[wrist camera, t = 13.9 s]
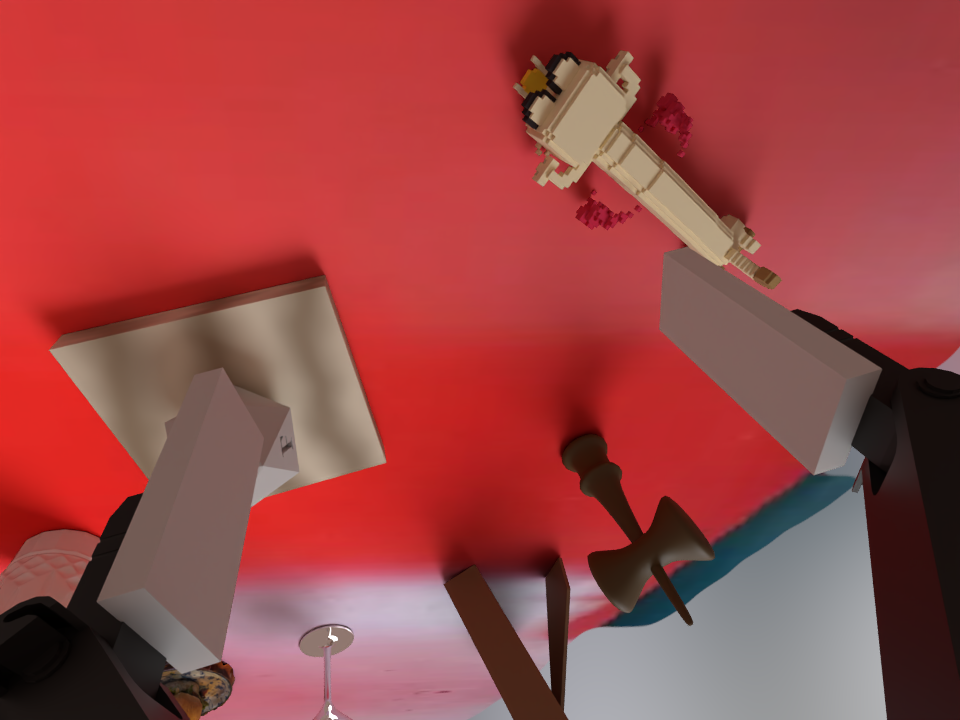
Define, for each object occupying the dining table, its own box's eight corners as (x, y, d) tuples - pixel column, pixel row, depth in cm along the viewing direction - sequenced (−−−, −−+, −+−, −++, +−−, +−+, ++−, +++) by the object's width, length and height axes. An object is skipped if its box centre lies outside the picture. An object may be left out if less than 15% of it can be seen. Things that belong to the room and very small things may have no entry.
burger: (95, 679, 54) (67, 760, 48) (202, 639, 55) (187, 713, 49) (160, 718, 61) (142, 793, 55) (253, 682, 62) (246, 751, 56)
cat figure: (750, 203, 44) (566, -8, 30) (835, 240, 38) (649, -10, 23) (673, 292, 47) (473, 139, 33) (738, 341, 41) (523, 175, 27)
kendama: (629, 434, 55) (756, 601, 39) (562, 486, 57) (657, 666, 40) (603, 407, 51) (730, 578, 35) (533, 463, 53) (623, 650, 37)
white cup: (106, 517, 43) (55, 629, 35) (131, 573, 47) (91, 685, 39) (-6, 531, 41) (-87, 653, 33) (31, 588, 45) (-33, 710, 37)
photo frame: (481, 654, 73) (543, 892, 53) (442, 577, 60) (502, 852, 40) (574, 616, 74) (669, 835, 54) (555, 533, 61) (669, 778, 41)
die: (272, 463, 43) (330, 497, 36) (158, 503, 37) (202, 552, 30) (258, 372, 41) (316, 389, 34) (136, 397, 35) (177, 425, 28)
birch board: (325, 274, 36) (325, 286, 35) (384, 447, 47) (386, 462, 45) (62, 335, 34) (49, 349, 32) (186, 503, 44) (180, 521, 43)
